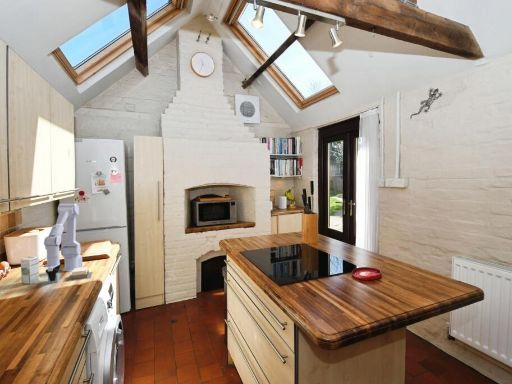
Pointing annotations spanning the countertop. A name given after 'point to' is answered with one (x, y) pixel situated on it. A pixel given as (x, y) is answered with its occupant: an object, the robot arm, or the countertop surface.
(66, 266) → the robot arm
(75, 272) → the cream slab
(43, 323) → the countertop surface
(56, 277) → the teal cube
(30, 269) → the syrup box
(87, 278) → the slate mat
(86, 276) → the walnut slab
